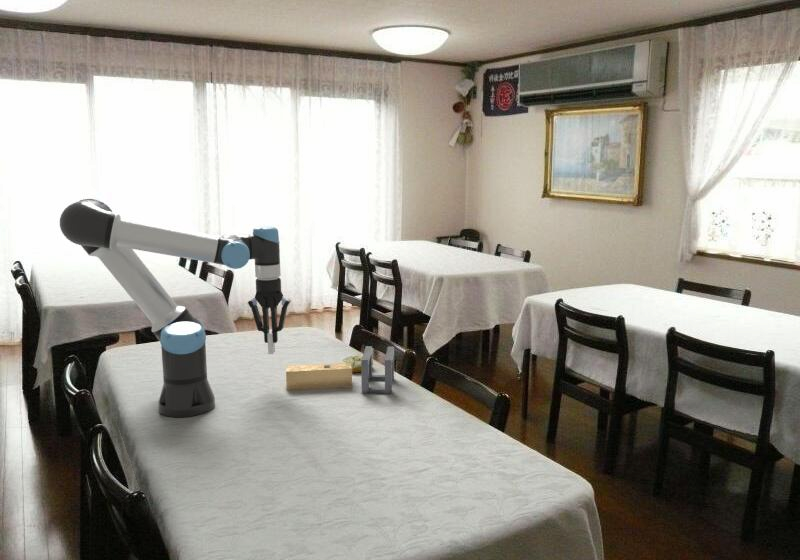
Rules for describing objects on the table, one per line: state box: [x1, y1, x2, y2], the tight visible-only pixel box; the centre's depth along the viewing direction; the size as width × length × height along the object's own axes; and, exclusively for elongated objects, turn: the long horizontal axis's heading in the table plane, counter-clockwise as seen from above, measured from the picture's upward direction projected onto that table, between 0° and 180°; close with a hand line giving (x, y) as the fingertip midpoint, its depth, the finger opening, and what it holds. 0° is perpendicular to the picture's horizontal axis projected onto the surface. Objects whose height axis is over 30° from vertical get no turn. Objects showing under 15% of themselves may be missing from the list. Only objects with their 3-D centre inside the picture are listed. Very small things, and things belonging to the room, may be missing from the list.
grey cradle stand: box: [360, 345, 395, 395], centre depth 202 cm, size 14×9×10 cm, turn 178°
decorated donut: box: [340, 354, 374, 374], centre depth 219 cm, size 10×11×4 cm
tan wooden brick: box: [285, 362, 353, 391], centre depth 203 cm, size 20×6×6 cm, turn 100°
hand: (271, 352), depth 202 cm, fingers closed
